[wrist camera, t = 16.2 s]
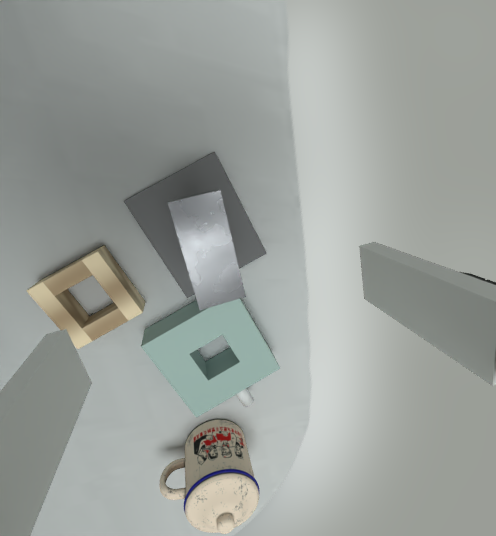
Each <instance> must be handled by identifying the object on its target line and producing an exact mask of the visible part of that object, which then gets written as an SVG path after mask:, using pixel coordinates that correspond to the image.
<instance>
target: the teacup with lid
mask: <svg viewBox="0 0 496 536" xmlns="http://www.w3.org/2000/svg"><path fill="white" fill-rule="evenodd" d="M180 468H185V482H186V488H181V489H171V488H169V487H167V486H166V484H165V483H166V480H167V478H168V476H169V475H170V474H171V473H172V472H173V471H175V470H177V469H180ZM160 491H161V493H162V495H163V496H164V497H166V498H167V499H170V500H178V499H184V498H185V501H184V511H185V514H186V517H187V519H188V521H189V522H190V523H191V525H192V526H194V527H195V528H197V529H198V530H201V531H204V532H210V533H218V532H220V533H222V534H226V533H229V532H231V531H232V530H233V528H235V527H237V526H239V525H241V524H242V523H244V522H245V521H246V520H247V519H248V518H249V517H250V516H251V515H252V514H253V512H254V511H255V509H256V507H257V504H258V500H259V486H258V483H257V481H256V480H255V478H254V474H253V470H252V466H251V462H250V458H249V454H248V450H247V446H246V442H245V438H244V434H243V432H242V430H241V429H240V428H239V426H237V425H236V424H235V423H233V422H230V421H227V420H212V421H209V422H206V423H204V424H202V425H200V426H198V427H197V428H196V429H195V430H193V431H192V433H191V434H190V435H189V437H188V439H187V441H186V444H185V458H182V459H178V460H175V461H173V462H171V463H170V464H169V465H168V466H167V467H166V468H165V469H164V471H163V473H162V475H161V478H160Z"/></svg>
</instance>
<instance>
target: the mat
mask: <svg viewBox="0 0 496 536" xmlns="http://www.w3.org/2000/svg"><path fill="white" fill-rule="evenodd" d="M215 189H219V190H220V191H221V195H222V199H223V204H224V208H225V212H226V216H227V220H228V224H229V229H230V233H231V237H232V241H233V245H234V250H235V254H236V258H237V262H238V266H239V269H240V268H241V267H243V266H245V265H247V264H248V263H250V262H252V261H254V260H255V259H257V258H259V257H261V256H262V255H264V254H266V251H265V249H264V247H263V245H262V244H261V242H260V240H259V238H258V236H257V234H256V232H255V230H254V228H253V226H252V224H251V222H250V220H249V218H248V216H247V214H246V212H245V210H244V208H243V206H242V204H241V202H240V200H239V198H238V197H237V195H236V193H235V191H234V189H233V187H232V185H231V183H230V181H229V179H228V177H227V175H226V173H225V171H224V169H223V167H222V165H221V163H220V161H219V159H218V157H217V155H216V153H215V152H213V153H211V154H209V155H207V156H206V157H204V158H202V159H200V160H198V161H196V162H195V163H193V164H191V165H189V166H187V167H185V168H184V169H182V170H180V171H178V172H176V173H174V174H173V175H171V176H169V177H167V178H165V179H163V180H162V181H160V182H158V183H156V184H154V185H153V186H151V187H149V188H147V189H145V190H143V191H142V192H140V193H138V194H136V195H134V196H132V197H131V198H129V199H127V200H125V201H124V202H125V204H126V205H127V207H128V209H129V210H130V212H131V213H132V215H133V216H134V218H135V219H136V221H137V222H138V224H139V225H140V227H141V228H142V230H143V231H144V233H145V234H146V236H147V237H148V239H149V240H150V242H151V243H152V245H153V247H154V248H155V250H156V251H157V253H158V254H159V256H160V257H161V259H162V260H163V262H164V263H165V265H166V266H167V268H168V269H169V271H170V272H171V274H172V275H173V277H174V278H175V280H176V281H177V283H178V285H179V286H180V288H181V289H182V291H183V292H184V294H185V295H186V297H187V298H188V297H190V296H192V295H194V294H195V293H194V290H193V286H192V283H191V280H190V276H189V273H188V269H187V266H186V263H185V259H184V256H183V253H182V249H181V246H180V243H179V239H178V236H177V233H176V229H175V226H174V223H173V219H172V216H171V212H170V209H169V206H168V201H169V200H173V199H177V198H182V197H186V196H190V195H194V194H198V193H202V192H207V191H211V190H215Z"/></svg>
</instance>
